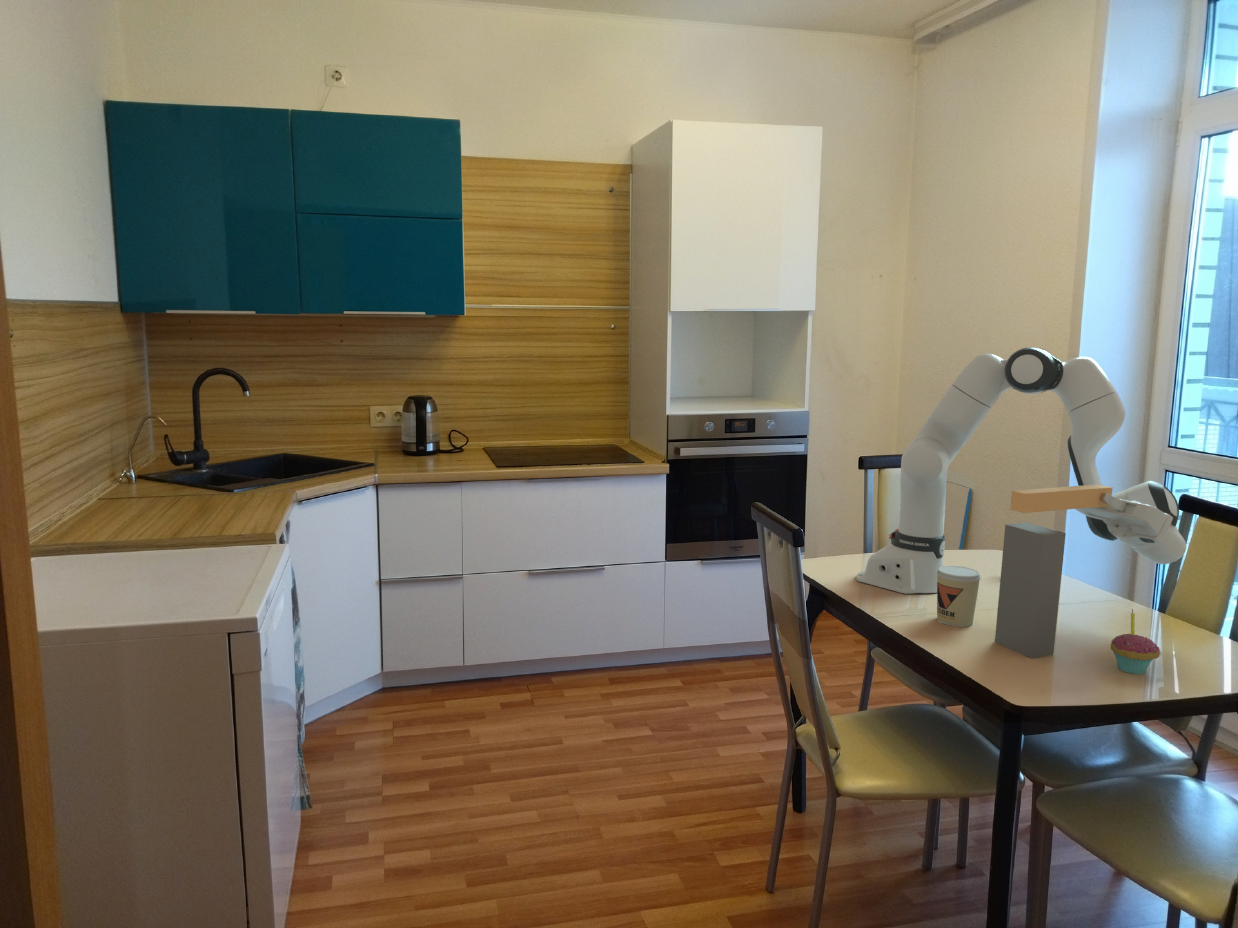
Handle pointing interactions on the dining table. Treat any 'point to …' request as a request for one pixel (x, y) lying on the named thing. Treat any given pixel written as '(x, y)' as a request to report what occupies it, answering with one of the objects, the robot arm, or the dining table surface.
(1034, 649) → the stand
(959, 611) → the coffee cup
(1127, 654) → the cupcake
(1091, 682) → the dining table surface
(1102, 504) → the bar
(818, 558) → the dining table surface
